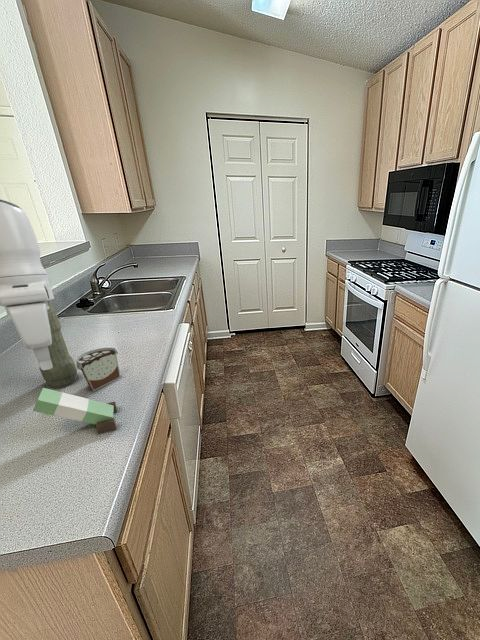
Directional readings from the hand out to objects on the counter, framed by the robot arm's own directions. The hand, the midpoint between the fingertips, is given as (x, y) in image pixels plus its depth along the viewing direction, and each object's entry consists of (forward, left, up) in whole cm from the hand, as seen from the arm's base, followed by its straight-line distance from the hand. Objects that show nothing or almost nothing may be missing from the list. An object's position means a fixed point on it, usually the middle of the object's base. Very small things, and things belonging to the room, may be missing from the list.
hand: (46, 365), depth 65 cm
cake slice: (+2, +36, -23) cm, 43 cm away
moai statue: (-9, +42, -23) cm, 49 cm away
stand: (+5, +12, -23) cm, 27 cm away
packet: (-2, +12, -19) cm, 22 cm away
